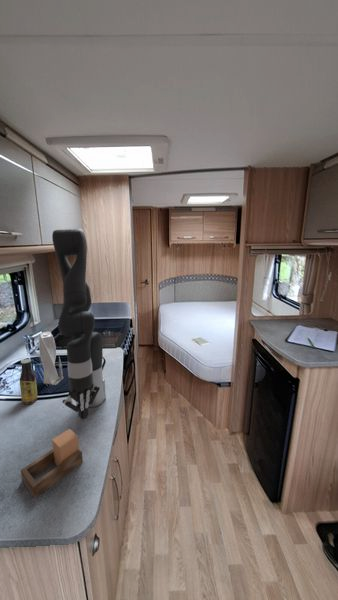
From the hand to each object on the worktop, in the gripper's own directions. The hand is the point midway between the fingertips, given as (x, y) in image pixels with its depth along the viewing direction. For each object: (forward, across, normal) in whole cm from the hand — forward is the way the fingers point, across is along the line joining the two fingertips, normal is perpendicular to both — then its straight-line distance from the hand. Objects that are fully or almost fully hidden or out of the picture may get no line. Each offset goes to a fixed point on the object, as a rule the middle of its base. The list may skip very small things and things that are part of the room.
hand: (83, 417), depth 84 cm
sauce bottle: (+12, +1, -42) cm, 44 cm away
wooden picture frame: (+12, +11, 0) cm, 16 cm away
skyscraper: (+12, -12, -50) cm, 53 cm away
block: (+12, +7, 0) cm, 14 cm away
